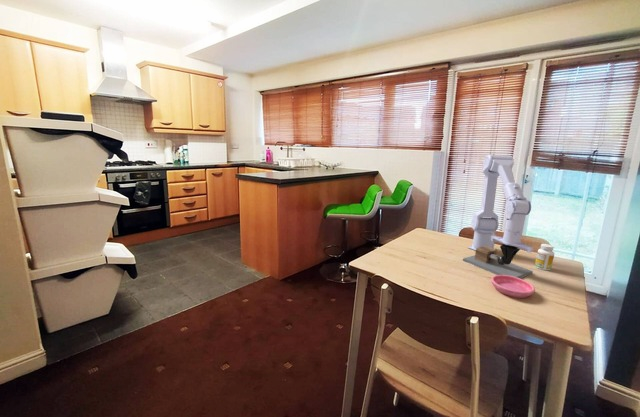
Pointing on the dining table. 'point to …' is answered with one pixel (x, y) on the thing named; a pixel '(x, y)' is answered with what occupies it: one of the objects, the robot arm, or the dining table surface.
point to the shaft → (497, 258)
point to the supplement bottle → (544, 257)
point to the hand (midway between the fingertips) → (507, 263)
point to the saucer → (512, 286)
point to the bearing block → (484, 254)
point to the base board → (499, 267)
